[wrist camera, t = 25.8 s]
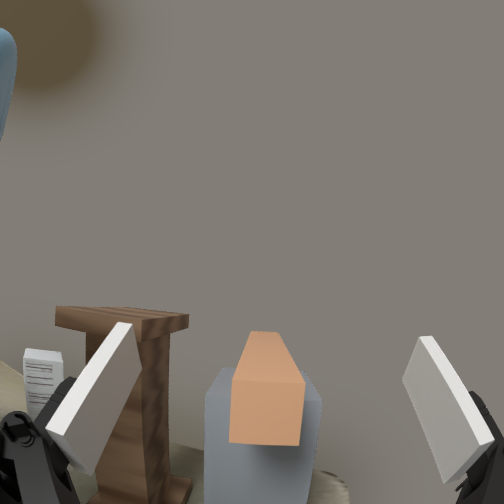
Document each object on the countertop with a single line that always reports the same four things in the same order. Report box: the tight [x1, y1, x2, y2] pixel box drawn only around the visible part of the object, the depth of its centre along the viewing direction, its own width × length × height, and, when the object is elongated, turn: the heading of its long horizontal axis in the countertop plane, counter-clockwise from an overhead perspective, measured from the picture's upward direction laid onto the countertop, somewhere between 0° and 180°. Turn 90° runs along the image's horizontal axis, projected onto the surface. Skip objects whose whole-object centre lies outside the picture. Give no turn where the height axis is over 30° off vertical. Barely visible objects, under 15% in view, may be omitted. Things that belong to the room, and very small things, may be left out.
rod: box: [229, 331, 306, 446], centre depth 30 cm, size 30×4×4 cm, turn 178°
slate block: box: [204, 367, 322, 504], centre depth 28 cm, size 12×10×24 cm
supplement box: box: [23, 348, 64, 422], centre depth 49 cm, size 10×9×17 cm
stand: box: [55, 306, 192, 504], centre depth 32 cm, size 18×12×30 cm, turn 178°
